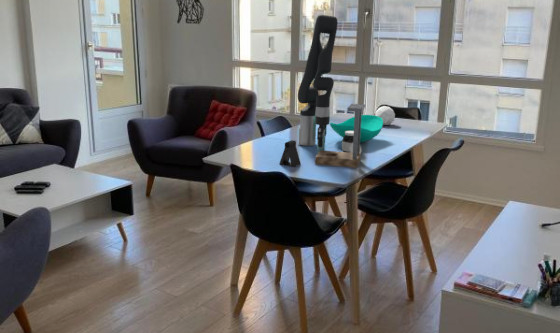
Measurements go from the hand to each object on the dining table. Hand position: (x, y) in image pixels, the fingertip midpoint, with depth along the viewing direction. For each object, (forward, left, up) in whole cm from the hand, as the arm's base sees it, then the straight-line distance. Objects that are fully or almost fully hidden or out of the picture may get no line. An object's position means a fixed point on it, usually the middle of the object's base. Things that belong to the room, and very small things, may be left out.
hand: (321, 145), depth 297 cm
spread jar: (+16, +8, -6) cm, 18 cm away
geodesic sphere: (+26, +95, -6) cm, 99 cm away
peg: (0, 0, -5) cm, 5 cm away
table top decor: (+14, +38, -6) cm, 41 cm away
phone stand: (-11, -24, -6) cm, 27 cm away
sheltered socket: (+12, -13, -5) cm, 18 cm away
